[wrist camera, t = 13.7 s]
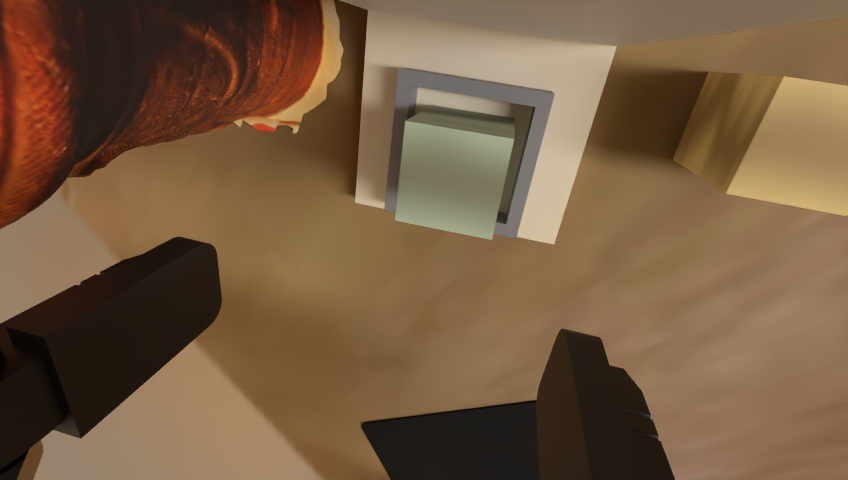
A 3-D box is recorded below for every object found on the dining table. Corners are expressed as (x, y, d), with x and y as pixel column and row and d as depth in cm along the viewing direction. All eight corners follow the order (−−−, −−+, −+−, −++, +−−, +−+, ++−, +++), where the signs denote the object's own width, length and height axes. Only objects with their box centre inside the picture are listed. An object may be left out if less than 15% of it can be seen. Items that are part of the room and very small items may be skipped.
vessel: (177, 139, 31) (-294, 235, 13) (125, -91, 25) (-844, -497, 7) (353, 147, 28) (74, 282, 10) (338, -107, 23) (-339, -802, 5)
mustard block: (708, 71, 22) (784, 76, 16) (806, 86, 22) (924, 97, 15) (672, 159, 24) (725, 193, 18) (759, 174, 24) (846, 215, 18)
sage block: (433, 105, 24) (405, 120, 18) (514, 118, 24) (514, 139, 18) (423, 182, 27) (394, 220, 20) (497, 196, 26) (491, 240, 20)
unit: (379, -34, 23) (-14, -303, 6) (625, -2, 22) (1077, -250, 4) (362, 196, 30) (145, 389, 12) (552, 235, 28) (612, 527, 11)
